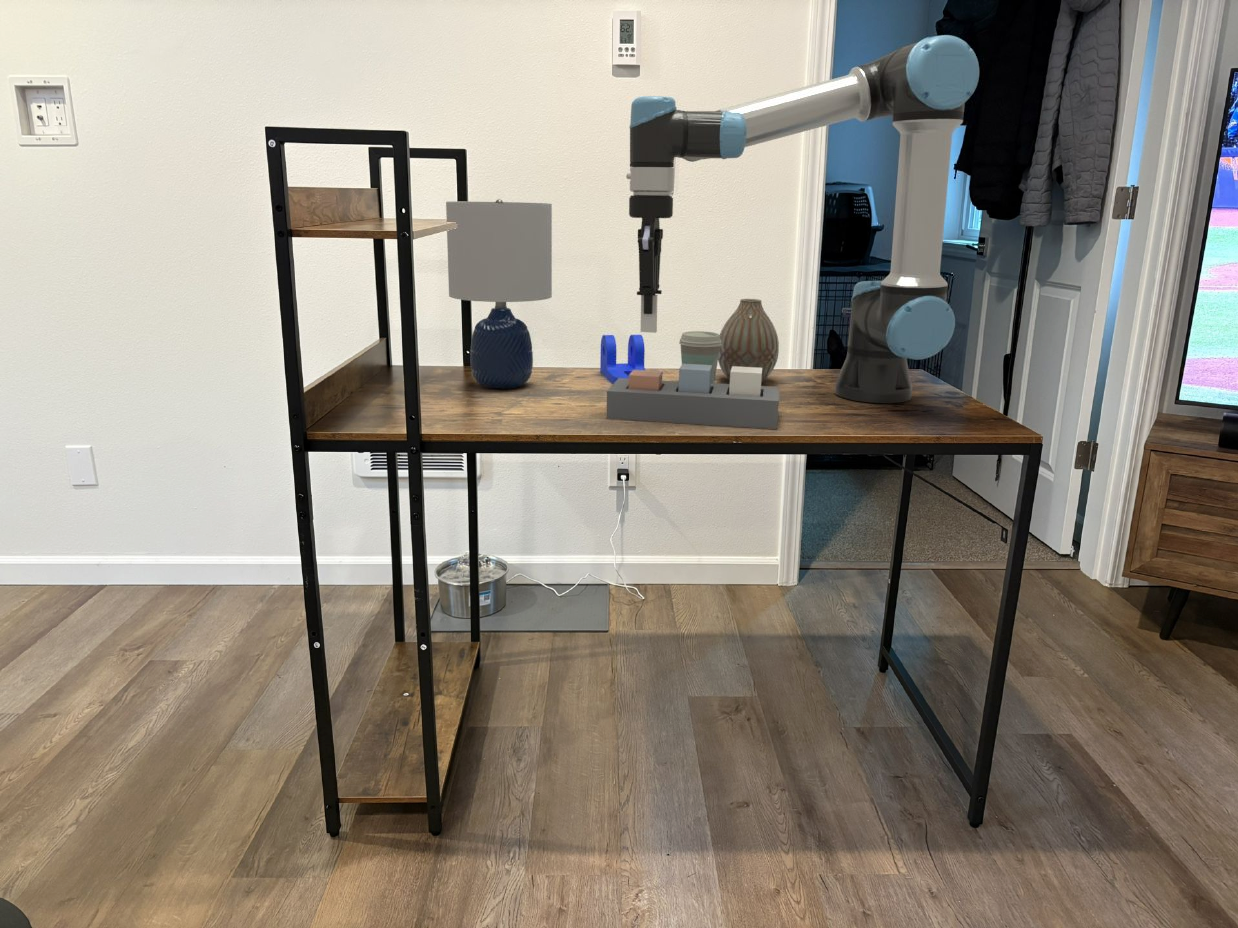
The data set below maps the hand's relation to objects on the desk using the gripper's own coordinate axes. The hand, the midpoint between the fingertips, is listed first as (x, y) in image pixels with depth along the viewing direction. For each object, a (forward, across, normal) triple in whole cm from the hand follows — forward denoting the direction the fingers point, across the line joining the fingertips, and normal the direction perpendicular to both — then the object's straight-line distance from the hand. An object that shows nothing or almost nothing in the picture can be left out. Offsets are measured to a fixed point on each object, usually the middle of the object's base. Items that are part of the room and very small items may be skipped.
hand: (648, 331), depth 162 cm
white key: (+11, 0, +18) cm, 21 cm away
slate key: (+10, 0, +9) cm, 14 cm away
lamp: (+15, -16, -32) cm, 39 cm away
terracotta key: (+12, 0, 0) cm, 12 cm away
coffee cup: (+15, -20, +8) cm, 26 cm away
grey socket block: (+15, 0, +9) cm, 17 cm away
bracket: (+15, -29, -8) cm, 34 cm away
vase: (+16, -35, +17) cm, 42 cm away
